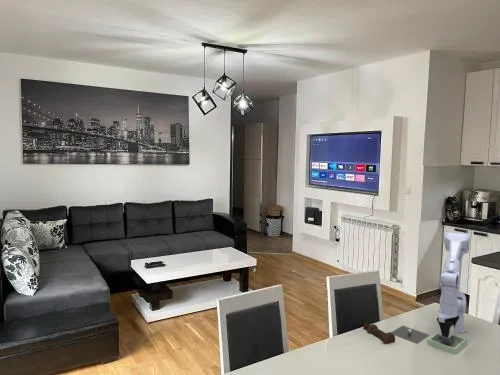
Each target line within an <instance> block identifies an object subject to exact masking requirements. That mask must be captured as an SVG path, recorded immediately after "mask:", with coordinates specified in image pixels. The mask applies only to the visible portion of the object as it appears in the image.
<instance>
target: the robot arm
mask: <svg viewBox="0 0 500 375" xmlns="http://www.w3.org/2000/svg"><path fill="white" fill-rule="evenodd" d="M443 240H444V241H443V242H444V243H443V244H444V248H445V251H447V252H448V257H447V258H446V259H445V261H444V265H443V266H444V267H443V271H442V272H440V278H439V280H440V282H439V283H440V291H441V292H440V294H441V295H440V297H439V308H438V309H437V313H439V316H438V317H437V318H436V321H437V323H438V324H439V325H440V329H441V334H442V336H444V337H448V336H449V331H450V327H451V325H452V324H453V325H454V334H460V333H465V332H466V329H465V328H464V322H465V321H464V318H465V315H464V314H466V312H467V311H466V310H467V297H466V294H465V293H463V292H462V291H461V290H460V289H461V288H460V287H461V276H462V265H463V264H462V262H463V257H464V255H465V254H468V253H469V252H470V246H471V235H470V233H463V232H462V233H461V232H453V231H452V232H451V231H445V233H444V238H443Z"/></svg>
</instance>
